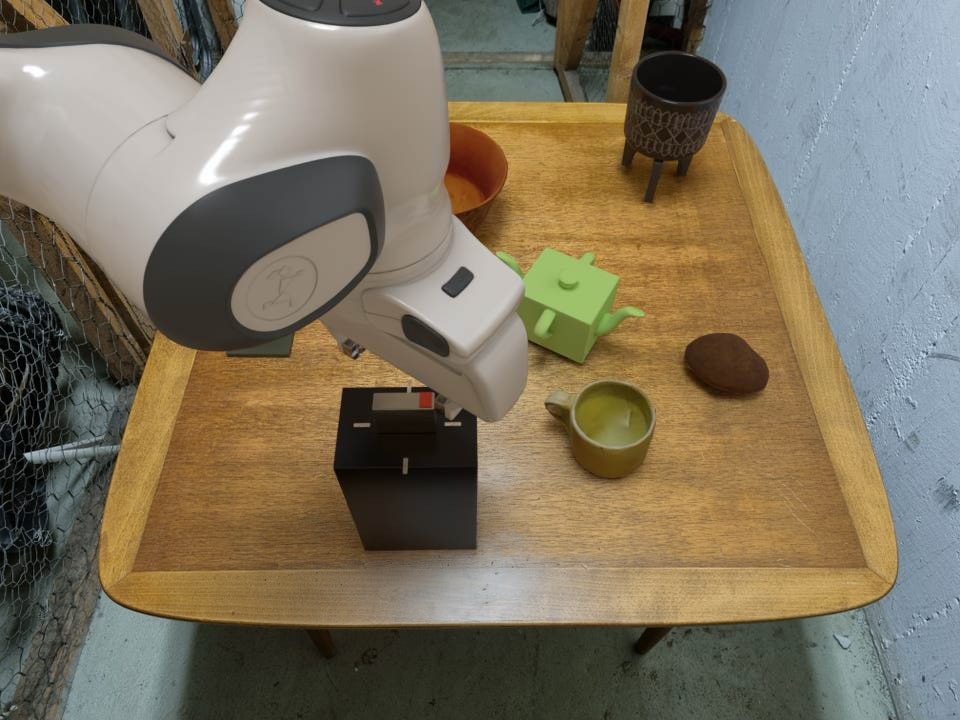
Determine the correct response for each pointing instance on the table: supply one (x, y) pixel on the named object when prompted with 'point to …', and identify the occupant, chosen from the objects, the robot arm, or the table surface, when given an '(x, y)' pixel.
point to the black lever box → (407, 477)
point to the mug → (606, 425)
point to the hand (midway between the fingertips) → (400, 379)
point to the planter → (670, 110)
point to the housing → (267, 349)
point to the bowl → (473, 174)
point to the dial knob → (405, 412)
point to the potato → (727, 363)
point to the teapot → (568, 302)
